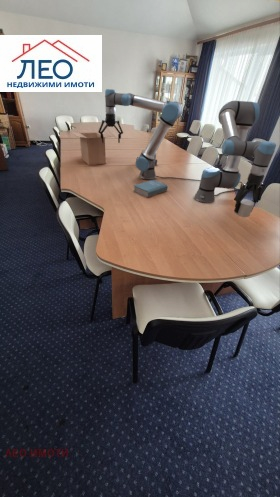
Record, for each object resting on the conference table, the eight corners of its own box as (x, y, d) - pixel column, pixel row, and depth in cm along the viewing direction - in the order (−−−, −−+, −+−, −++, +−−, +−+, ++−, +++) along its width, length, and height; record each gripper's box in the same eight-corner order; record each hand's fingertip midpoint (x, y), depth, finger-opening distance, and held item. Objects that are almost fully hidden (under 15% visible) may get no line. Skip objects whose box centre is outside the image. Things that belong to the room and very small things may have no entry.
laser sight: (155, 166, 234) (156, 156, 228) (135, 164, 237) (135, 154, 231) (157, 164, 242) (158, 154, 236) (137, 161, 245) (137, 152, 239)
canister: (231, 212, 133) (235, 200, 128) (240, 209, 137) (244, 197, 132) (243, 218, 127) (248, 206, 122) (252, 215, 131) (257, 203, 126)
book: (152, 185, 190) (153, 179, 187) (167, 191, 181) (167, 185, 178) (133, 191, 176) (133, 185, 173) (147, 198, 167) (148, 191, 164)
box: (116, 165, 229) (116, 136, 213) (83, 168, 214) (80, 137, 198) (102, 154, 259) (101, 128, 243) (71, 156, 244) (68, 129, 228)
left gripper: (94, 113, 168) (96, 143, 180) (126, 114, 173) (126, 143, 186) (94, 112, 174) (95, 141, 186) (125, 113, 179) (124, 141, 192)
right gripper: (243, 176, 112) (230, 215, 126) (278, 175, 117) (262, 213, 131) (235, 171, 118) (223, 209, 132) (269, 171, 123) (254, 207, 136)
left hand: (110, 142), depth 186 cm, fingers open, 13 cm apart
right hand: (242, 211), depth 131 cm, fingers closed on canister, 9 cm apart
